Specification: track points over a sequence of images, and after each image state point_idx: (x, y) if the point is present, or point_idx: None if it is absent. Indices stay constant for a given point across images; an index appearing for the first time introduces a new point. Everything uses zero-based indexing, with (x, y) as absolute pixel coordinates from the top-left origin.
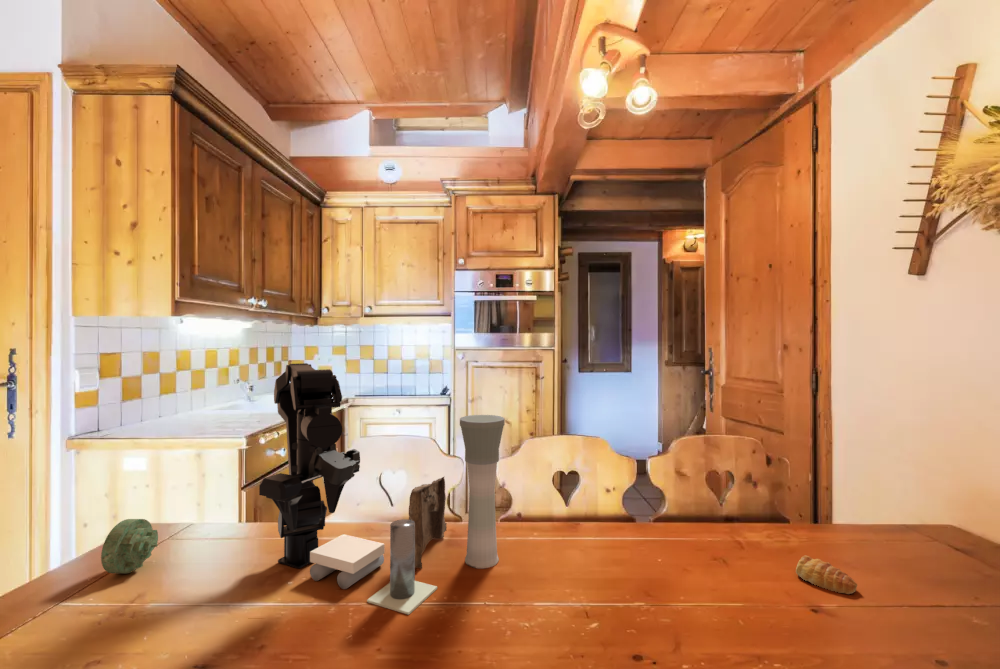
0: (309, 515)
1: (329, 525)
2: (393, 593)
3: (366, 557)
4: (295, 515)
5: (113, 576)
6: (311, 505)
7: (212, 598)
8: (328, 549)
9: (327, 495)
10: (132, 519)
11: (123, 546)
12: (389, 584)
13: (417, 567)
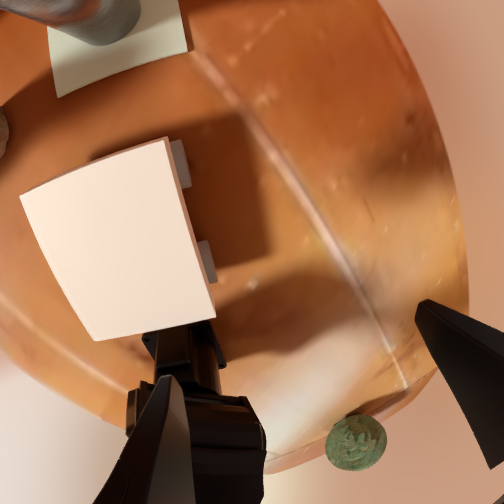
0: (195, 424)
1: (91, 406)
2: (138, 6)
3: (98, 160)
4: (482, 336)
5: (359, 414)
6: (192, 452)
7: (357, 321)
8: (168, 293)
9: (189, 477)
10: (361, 469)
11: (373, 438)
12: (97, 74)
13: (5, 116)
